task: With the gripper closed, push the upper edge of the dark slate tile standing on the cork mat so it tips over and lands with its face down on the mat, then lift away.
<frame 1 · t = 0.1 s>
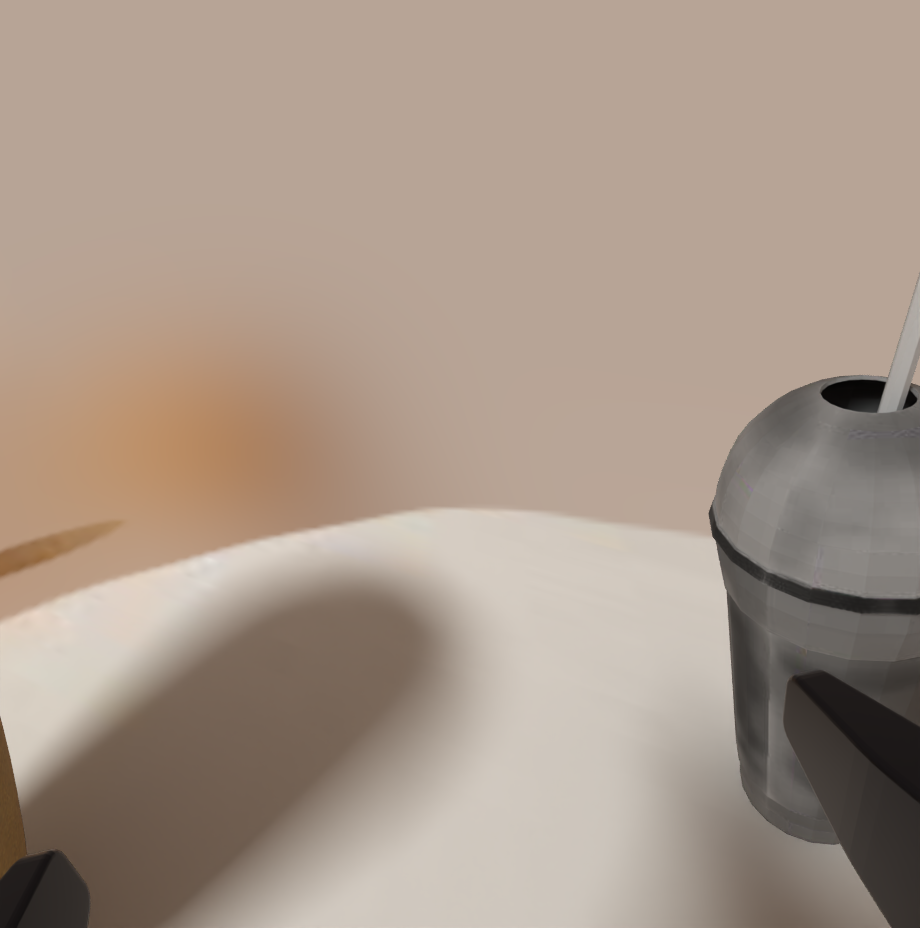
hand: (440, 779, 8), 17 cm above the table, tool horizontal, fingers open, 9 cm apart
beverage cup: (806, 786, 25), on the table
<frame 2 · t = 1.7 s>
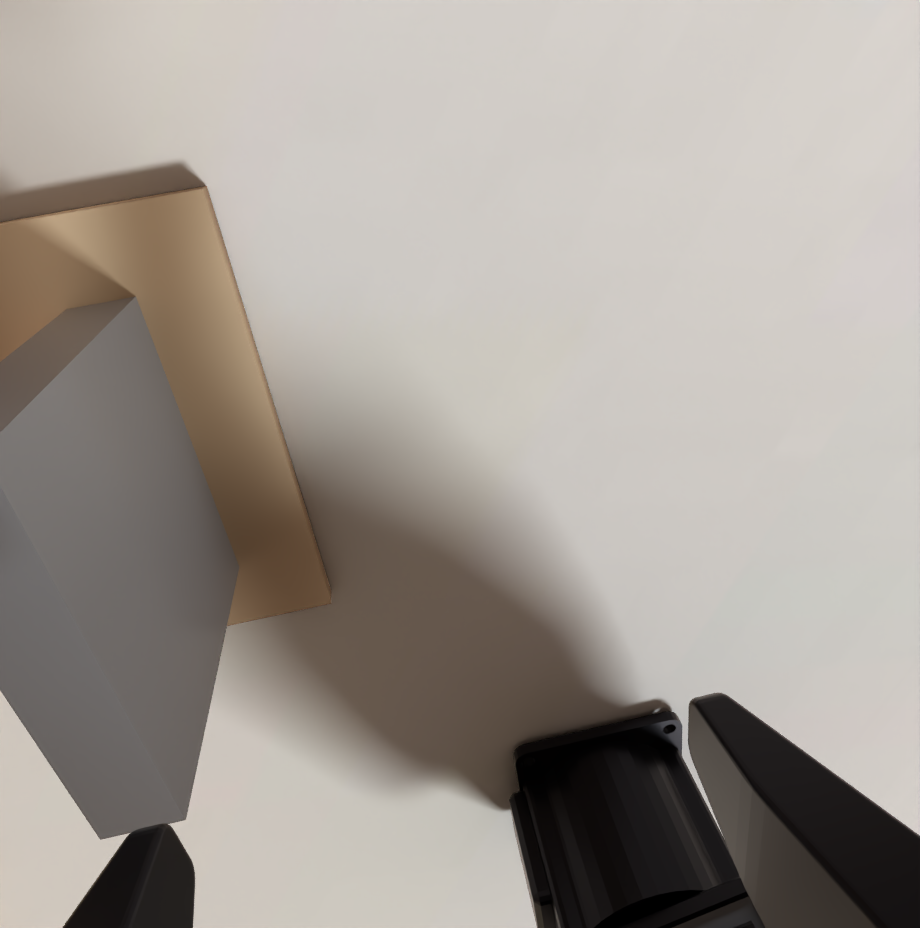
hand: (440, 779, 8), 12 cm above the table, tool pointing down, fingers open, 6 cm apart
slate tile: (162, 452, 18), point 1 cm above the table, touching cork mat
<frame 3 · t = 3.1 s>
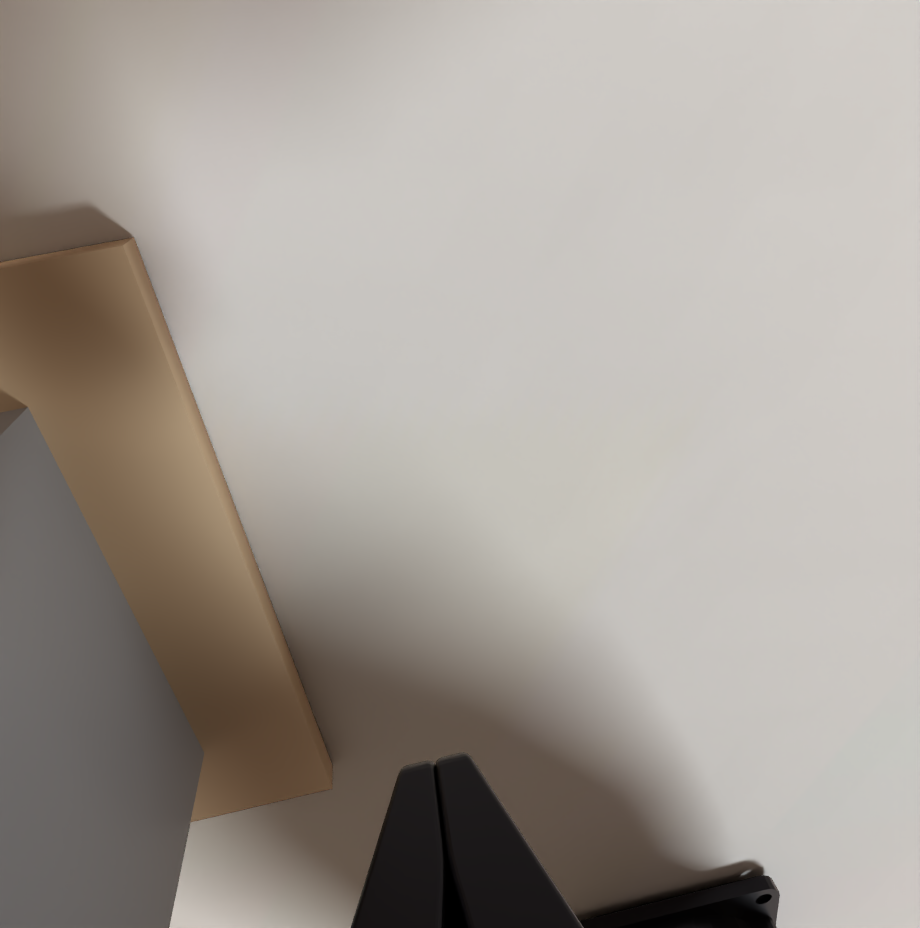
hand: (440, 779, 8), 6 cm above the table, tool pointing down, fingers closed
slate tile: (85, 617, 12), point 1 cm above the table, touching cork mat
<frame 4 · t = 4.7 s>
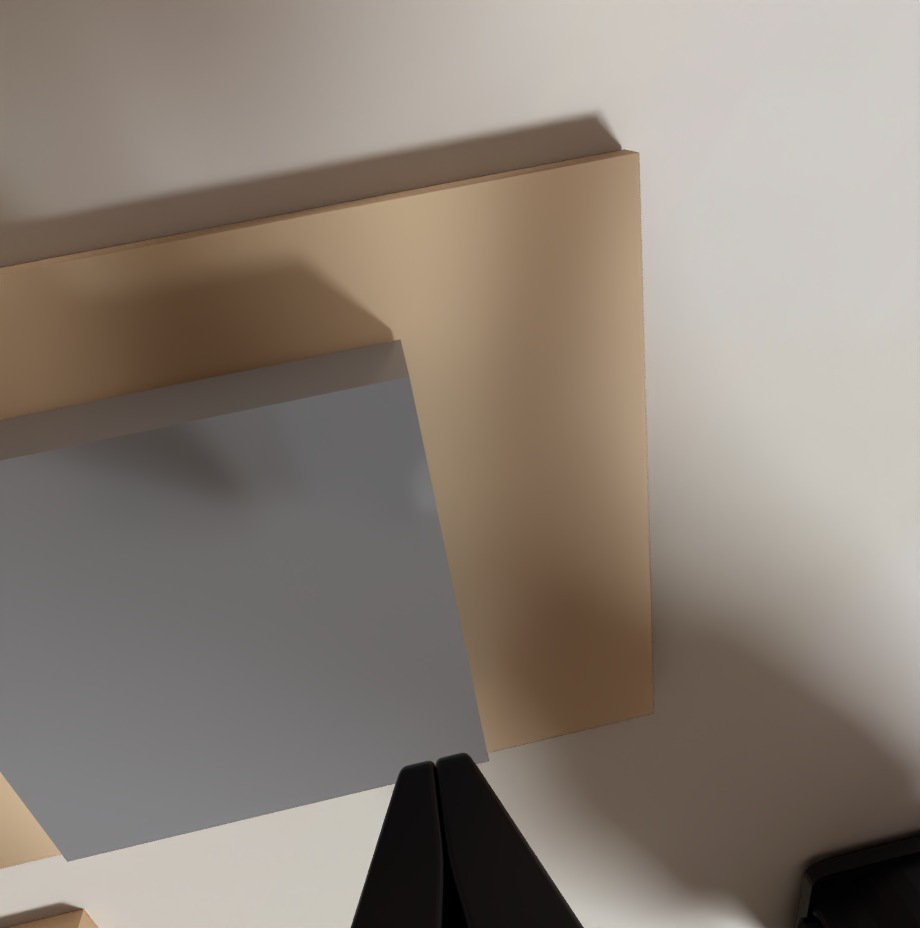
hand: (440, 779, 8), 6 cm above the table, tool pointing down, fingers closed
cork mat: (229, 569, 13), on the table
slate tile: (449, 572, 12), point 2 cm above the table, tilted 90°, touching cork mat
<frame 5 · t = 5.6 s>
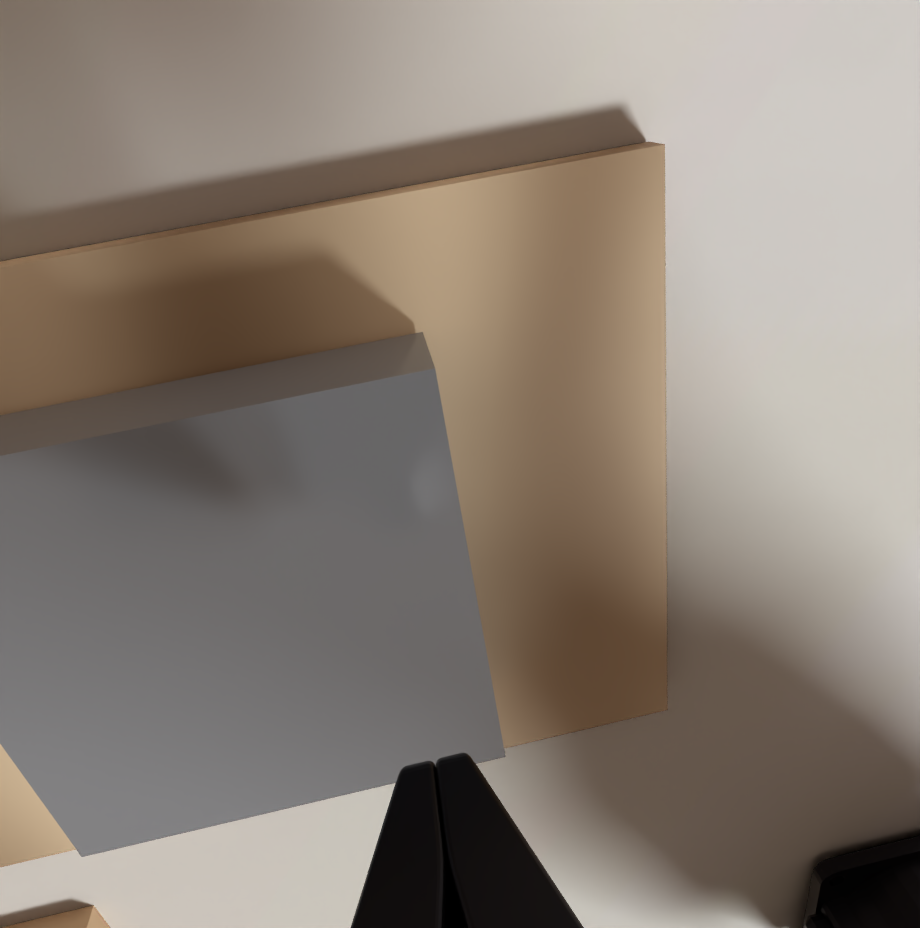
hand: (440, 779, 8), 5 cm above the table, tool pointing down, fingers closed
cork mat: (245, 563, 13), on the table
slate tile: (468, 566, 12), point 2 cm above the table, tilted 90°, touching cork mat
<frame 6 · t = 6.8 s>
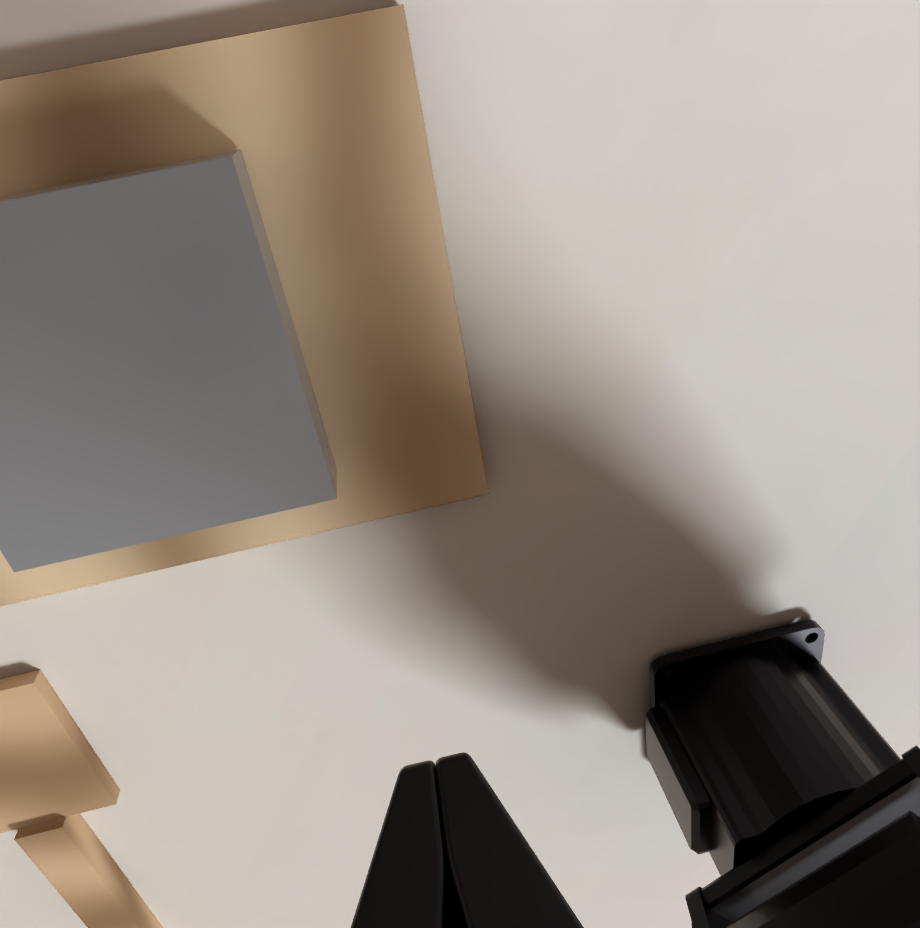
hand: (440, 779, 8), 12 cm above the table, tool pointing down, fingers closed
cork mat: (134, 352, 17), on the table
slate tile: (292, 338, 16), point 2 cm above the table, tilted 90°, touching cork mat
wooden turner: (61, 823, 25), on the table
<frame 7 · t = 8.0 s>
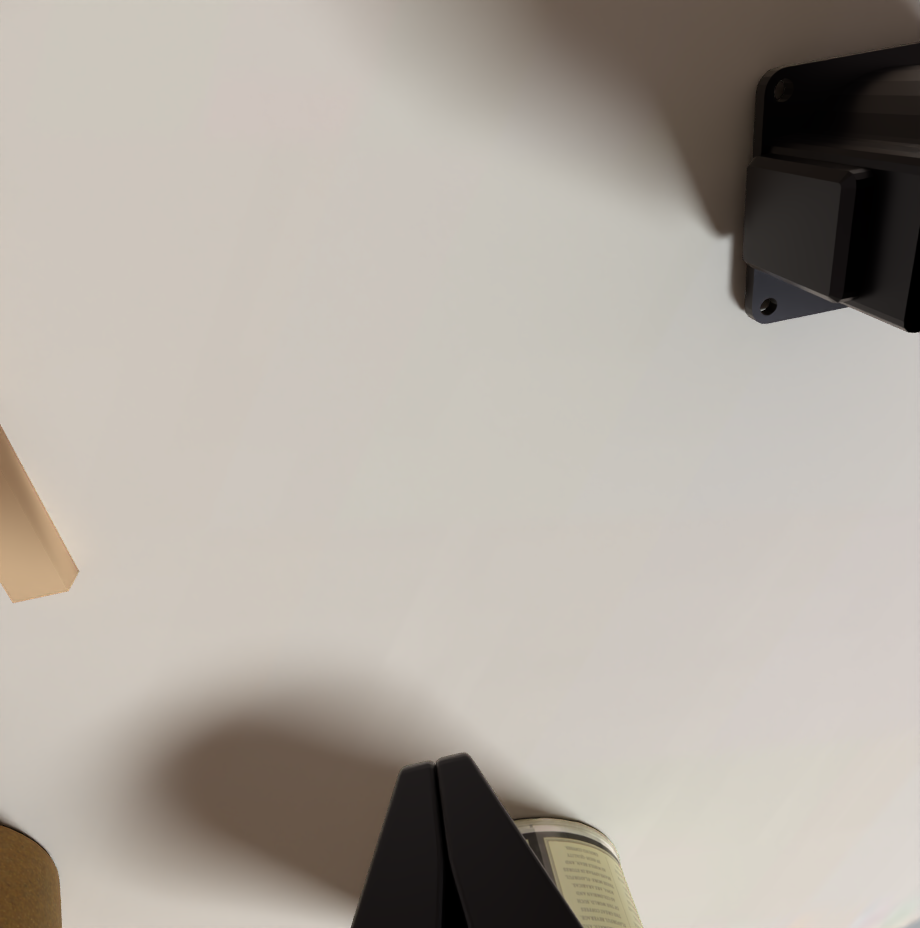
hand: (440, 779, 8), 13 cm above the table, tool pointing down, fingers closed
coffee can: (515, 881, 33), on the table
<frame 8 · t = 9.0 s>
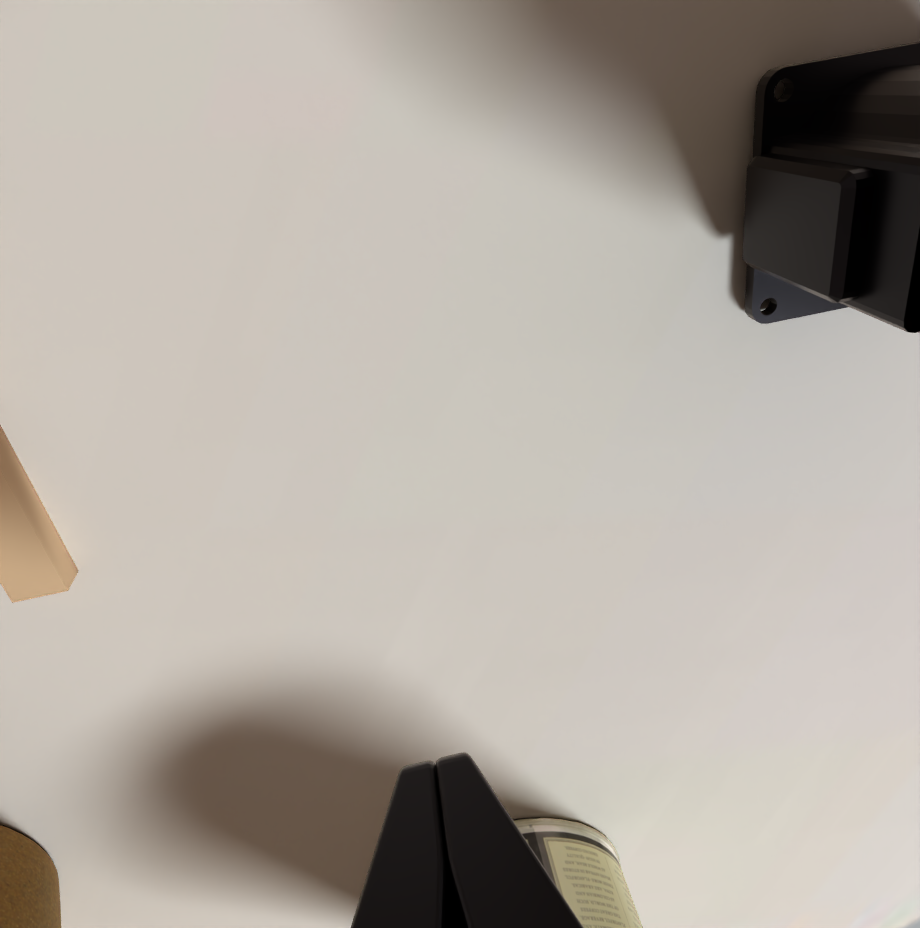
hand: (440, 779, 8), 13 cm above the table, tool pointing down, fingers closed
coffee can: (515, 882, 33), on the table
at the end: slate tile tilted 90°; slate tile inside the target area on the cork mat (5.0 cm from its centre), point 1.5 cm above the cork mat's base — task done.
